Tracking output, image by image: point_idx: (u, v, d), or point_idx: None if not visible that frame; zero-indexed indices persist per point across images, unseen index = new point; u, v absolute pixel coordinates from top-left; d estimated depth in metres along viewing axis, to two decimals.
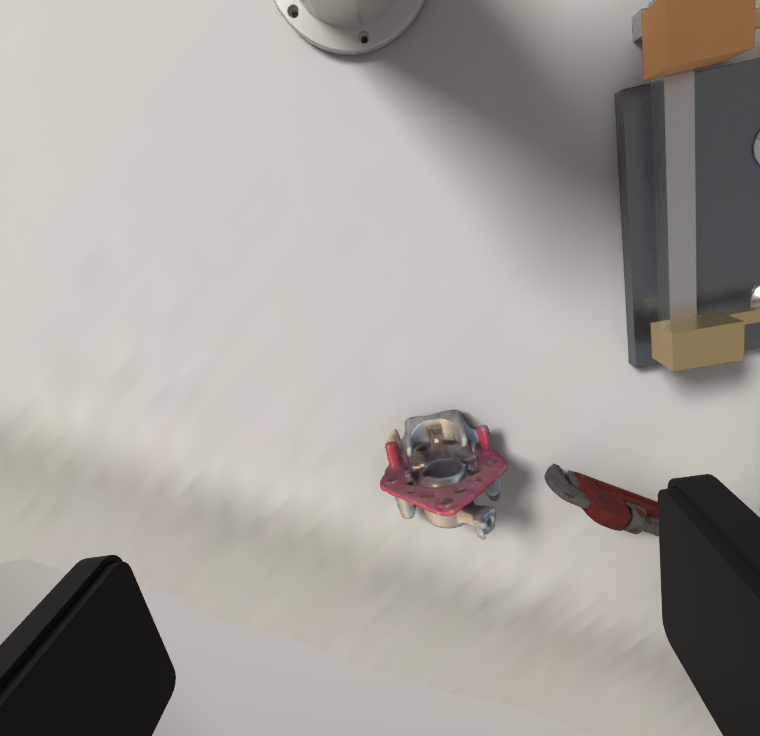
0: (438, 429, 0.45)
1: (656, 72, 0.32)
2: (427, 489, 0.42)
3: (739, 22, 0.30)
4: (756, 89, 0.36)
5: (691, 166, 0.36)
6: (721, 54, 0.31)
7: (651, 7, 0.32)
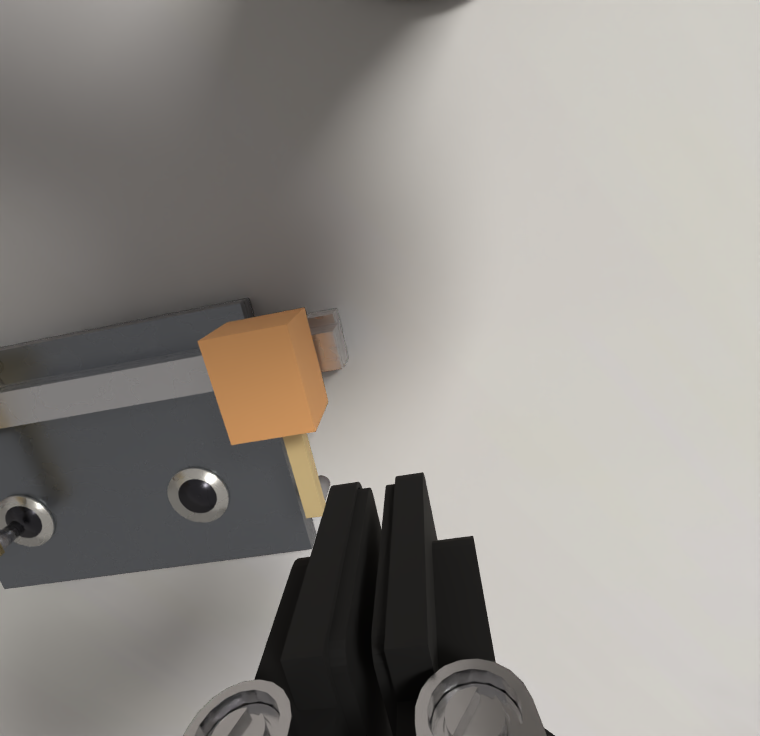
0: None
1: (213, 331, 0.23)
2: None
3: (257, 422, 0.22)
4: (252, 460, 0.30)
5: (136, 399, 0.27)
6: (220, 407, 0.22)
7: (295, 314, 0.23)
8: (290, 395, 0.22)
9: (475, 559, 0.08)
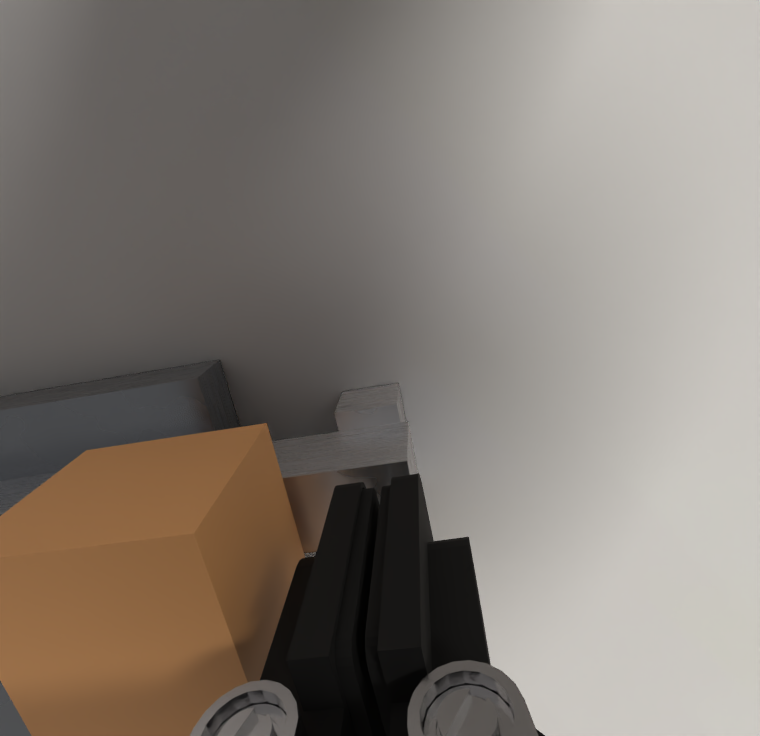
0: None
1: (23, 500, 0.09)
2: None
3: None
4: None
5: None
6: (27, 717, 0.08)
7: (238, 459, 0.09)
8: None
9: (470, 560, 0.08)
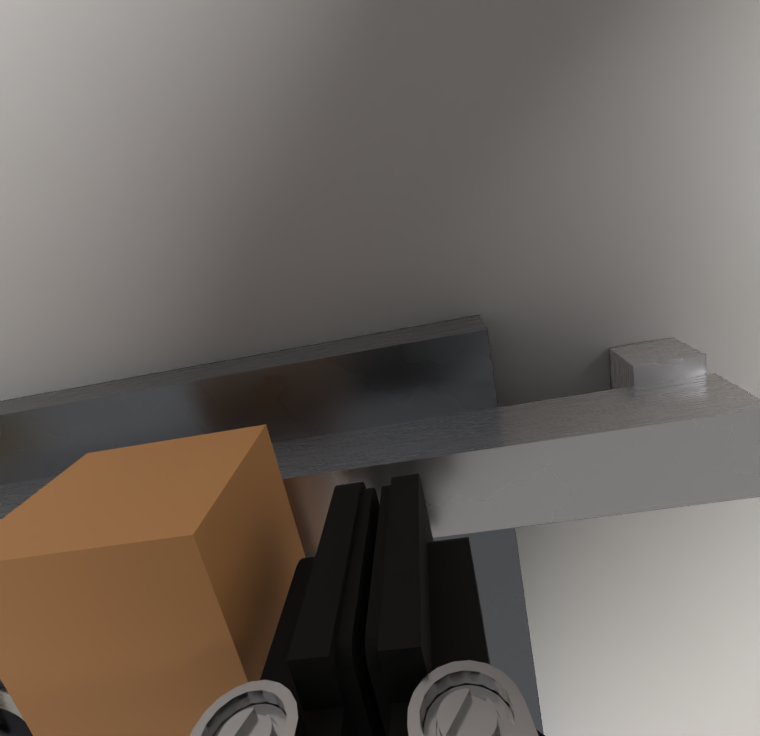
0: None
1: (24, 504, 0.09)
2: None
3: None
4: None
5: None
6: (30, 720, 0.08)
7: (237, 461, 0.09)
8: None
9: (470, 560, 0.08)
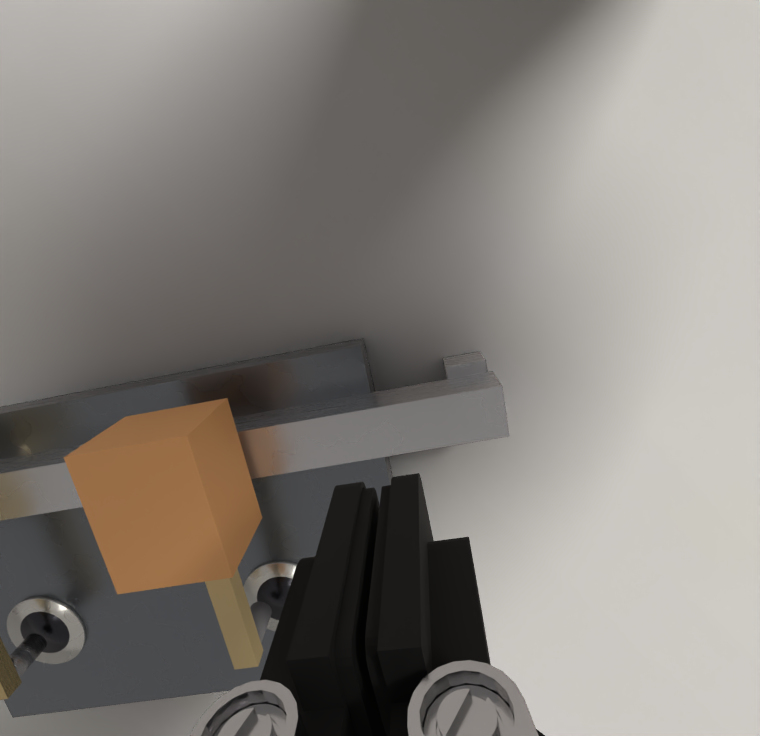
0: None
1: (97, 436, 0.17)
2: None
3: (152, 565, 0.16)
4: None
5: None
6: (100, 544, 0.16)
7: (210, 412, 0.17)
8: (196, 530, 0.16)
9: (470, 560, 0.08)
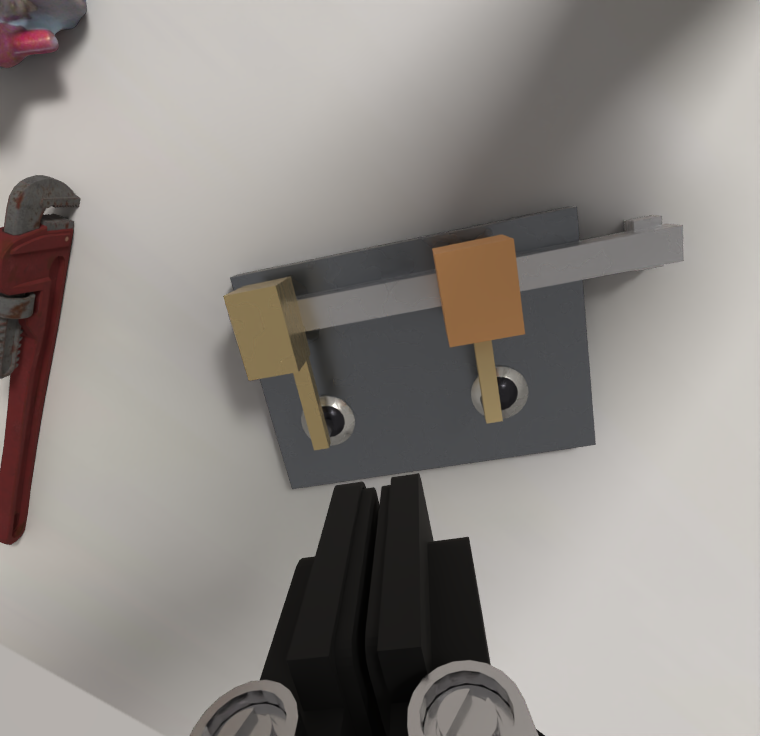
0: None
1: (434, 251, 0.27)
2: None
3: (475, 326, 0.26)
4: (557, 358, 0.33)
5: None
6: (444, 313, 0.26)
7: (504, 236, 0.27)
8: (507, 302, 0.26)
9: (470, 560, 0.08)
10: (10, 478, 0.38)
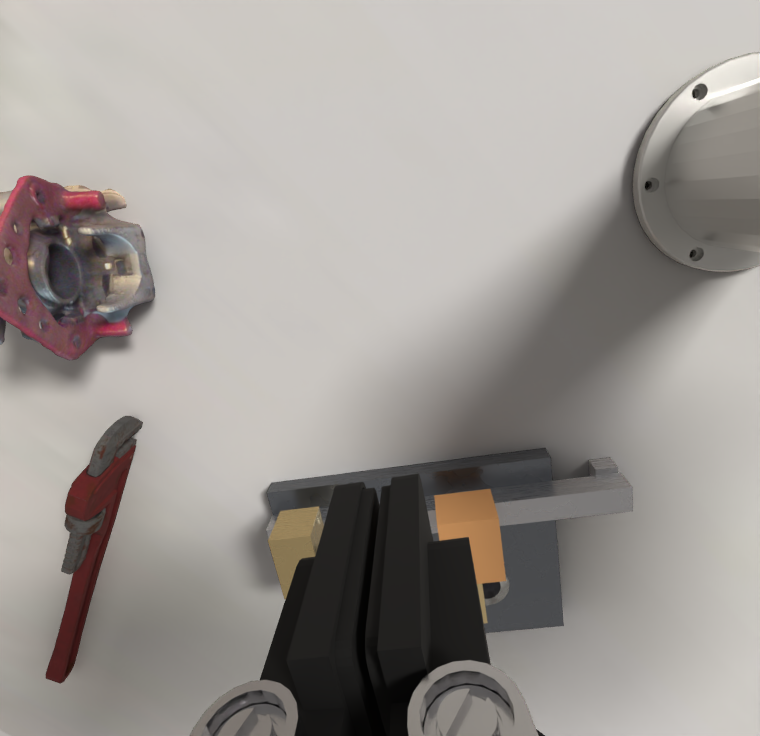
0: (125, 271, 0.34)
1: (436, 510, 0.34)
2: (22, 253, 0.28)
3: None
4: (533, 562, 0.40)
5: None
6: None
7: (492, 500, 0.34)
8: (493, 559, 0.33)
9: (470, 560, 0.08)
10: (68, 634, 0.44)
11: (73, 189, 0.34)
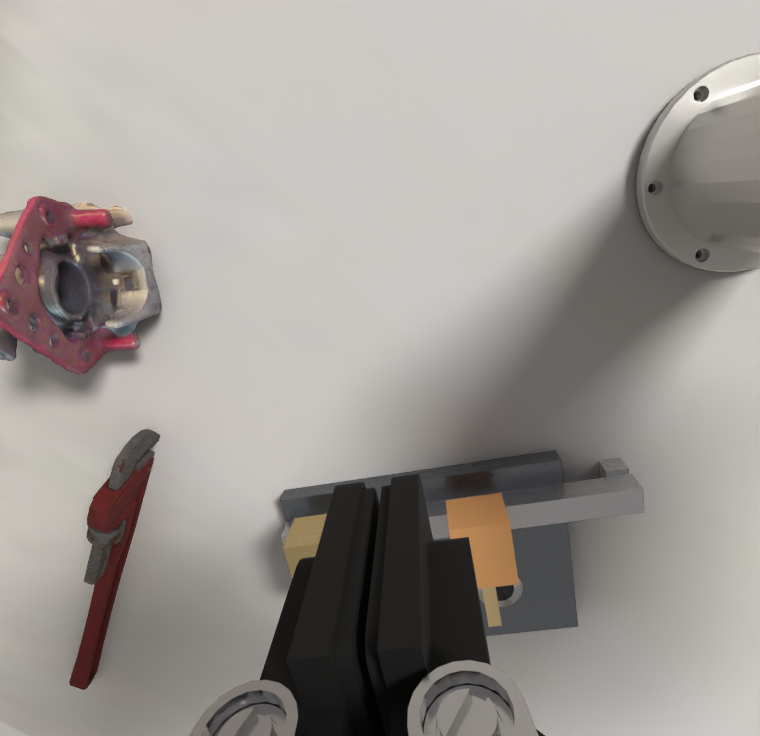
0: (132, 286, 0.34)
1: (448, 515, 0.34)
2: (33, 273, 0.29)
3: (480, 578, 0.34)
4: (546, 564, 0.40)
5: None
6: None
7: (503, 504, 0.34)
8: (505, 562, 0.33)
9: (470, 560, 0.08)
10: (91, 642, 0.45)
11: (81, 206, 0.35)
